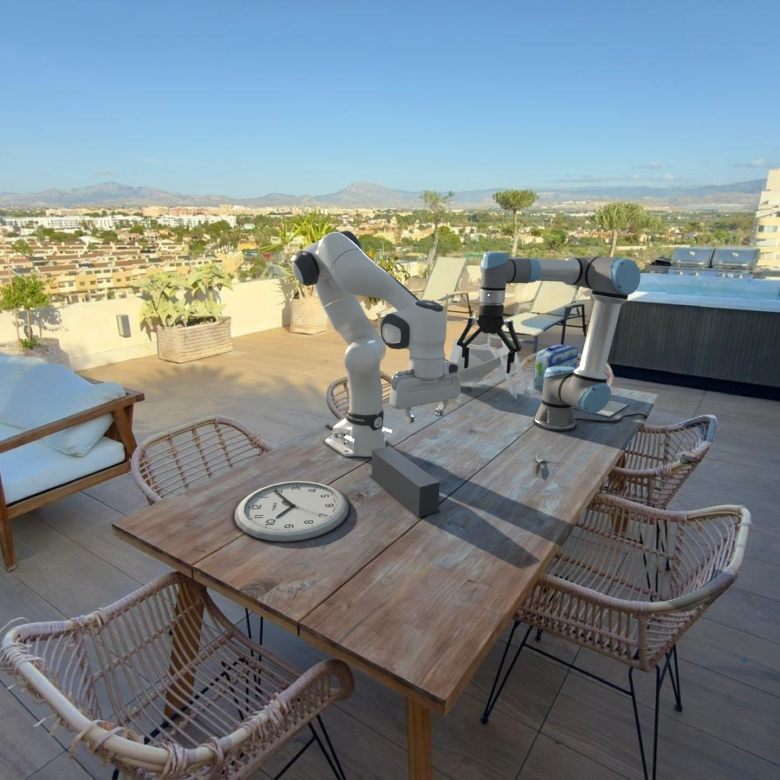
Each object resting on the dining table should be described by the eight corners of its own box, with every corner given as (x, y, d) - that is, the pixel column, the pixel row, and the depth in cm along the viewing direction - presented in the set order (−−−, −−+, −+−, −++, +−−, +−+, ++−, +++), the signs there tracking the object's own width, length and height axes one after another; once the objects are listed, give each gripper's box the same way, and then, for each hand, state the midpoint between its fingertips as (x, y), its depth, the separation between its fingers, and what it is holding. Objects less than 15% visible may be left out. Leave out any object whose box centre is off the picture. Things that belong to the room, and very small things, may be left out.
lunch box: (550, 397, 237) (555, 352, 231) (529, 391, 245) (533, 348, 238) (577, 386, 255) (582, 344, 249) (556, 381, 262) (561, 340, 256)
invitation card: (608, 416, 214) (573, 407, 224) (608, 416, 214) (573, 408, 224) (628, 404, 229) (594, 396, 238) (628, 405, 229) (594, 397, 238)
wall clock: (349, 533, 127) (222, 537, 124) (349, 539, 127) (223, 543, 125) (348, 477, 155) (245, 479, 153) (348, 481, 156) (245, 484, 153)
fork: (531, 475, 162) (532, 469, 161) (536, 455, 176) (537, 450, 175) (540, 476, 161) (541, 471, 160) (544, 456, 175) (545, 451, 175)
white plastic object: (461, 429, 252) (437, 405, 227) (444, 352, 274) (420, 323, 250) (535, 404, 240) (518, 377, 215) (510, 326, 262) (492, 293, 237)
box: (371, 476, 160) (371, 449, 157) (389, 472, 163) (389, 446, 160) (418, 517, 138) (420, 487, 135) (438, 511, 141) (439, 482, 138)
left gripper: (399, 375, 122) (398, 430, 126) (465, 364, 133) (462, 415, 137) (384, 369, 127) (384, 422, 131) (450, 359, 138) (447, 408, 142)
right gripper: (449, 302, 162) (446, 368, 169) (531, 308, 154) (524, 377, 160) (455, 299, 169) (452, 363, 175) (534, 304, 160) (528, 371, 167)
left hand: (424, 419), depth 134 cm, fingers open, 8 cm apart
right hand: (486, 370), depth 168 cm, fingers open, 13 cm apart
